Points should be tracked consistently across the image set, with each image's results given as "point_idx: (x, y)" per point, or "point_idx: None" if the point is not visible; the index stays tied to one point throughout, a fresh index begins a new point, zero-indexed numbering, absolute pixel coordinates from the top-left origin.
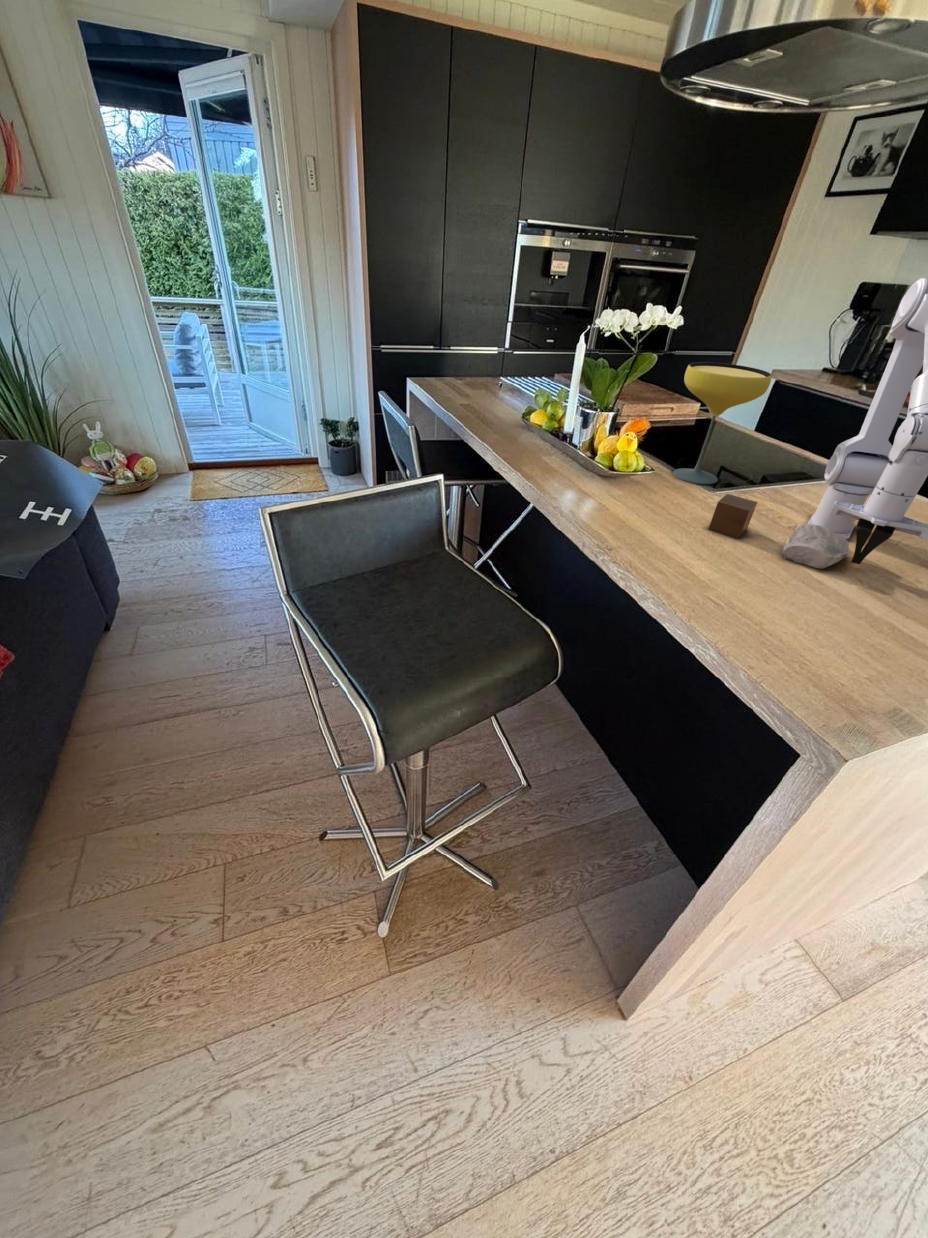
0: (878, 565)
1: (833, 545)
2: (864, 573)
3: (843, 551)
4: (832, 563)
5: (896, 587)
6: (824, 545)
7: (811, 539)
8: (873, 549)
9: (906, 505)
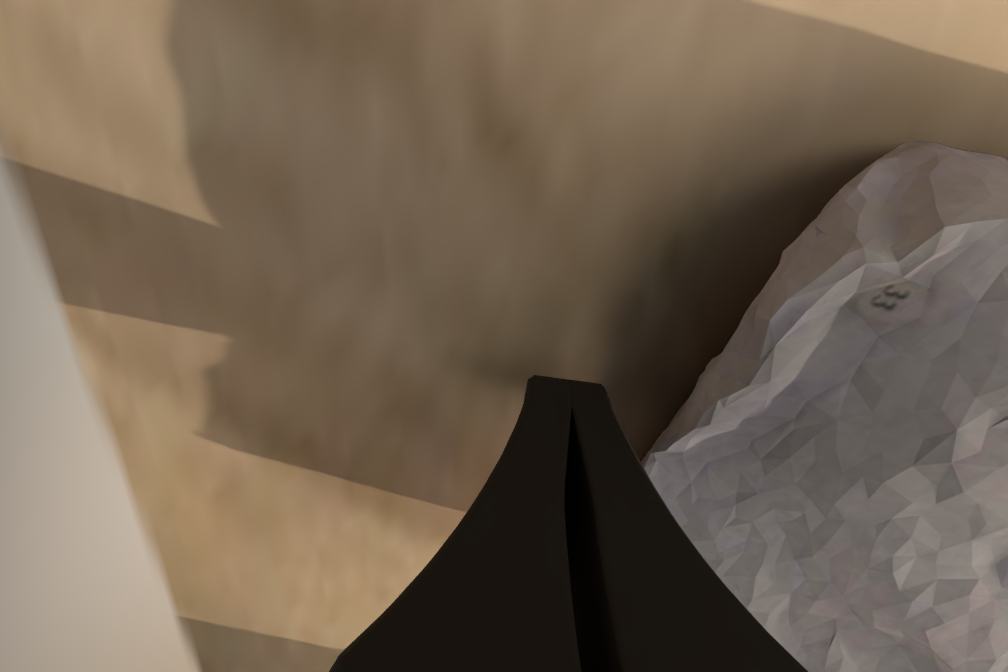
0: (377, 510)
1: (810, 524)
2: (462, 330)
3: (687, 495)
4: (853, 189)
5: (192, 212)
6: (978, 447)
7: None
8: (474, 501)
9: None
